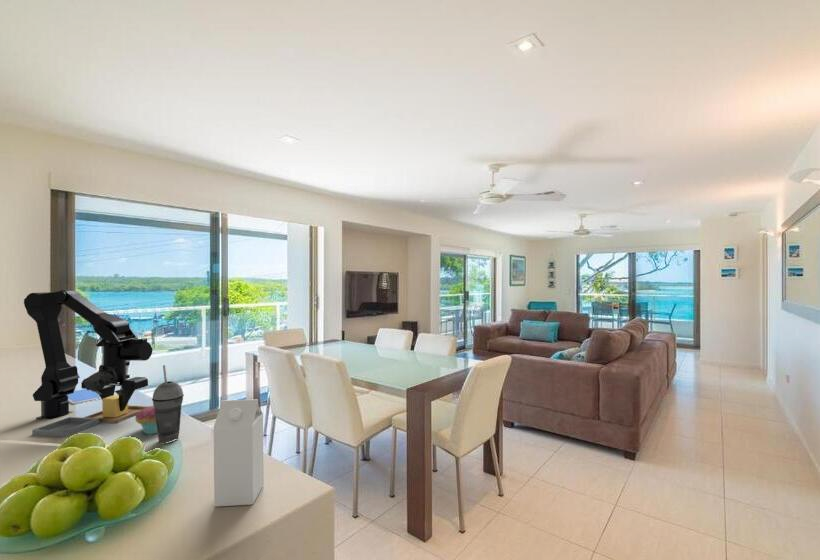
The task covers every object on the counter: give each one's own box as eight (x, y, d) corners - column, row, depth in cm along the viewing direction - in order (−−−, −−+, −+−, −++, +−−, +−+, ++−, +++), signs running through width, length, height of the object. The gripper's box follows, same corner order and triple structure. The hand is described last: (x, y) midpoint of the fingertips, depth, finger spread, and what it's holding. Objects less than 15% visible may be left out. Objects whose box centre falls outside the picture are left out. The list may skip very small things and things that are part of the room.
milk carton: (228, 487, 81) (227, 395, 81) (263, 485, 82) (262, 394, 81) (214, 507, 74) (213, 406, 74) (253, 505, 74) (252, 405, 74)
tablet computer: (58, 396, 148) (58, 393, 148) (100, 388, 158) (100, 385, 158) (72, 406, 136) (72, 402, 136) (116, 397, 146) (116, 393, 146)
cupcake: (178, 427, 114) (178, 386, 114) (150, 438, 106) (150, 394, 106) (156, 424, 117) (156, 383, 117) (128, 435, 109) (127, 391, 109)
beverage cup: (169, 447, 101) (168, 369, 101) (145, 444, 102) (144, 368, 102) (190, 435, 108) (189, 363, 108) (167, 433, 109) (167, 362, 109)
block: (102, 416, 121) (102, 398, 121) (115, 411, 125) (115, 394, 125) (115, 417, 120) (115, 399, 120) (128, 412, 125) (127, 395, 125)
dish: (32, 437, 108) (32, 429, 108) (70, 423, 118) (69, 416, 118) (63, 439, 106) (63, 431, 106) (99, 425, 116) (99, 418, 116)
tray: (82, 422, 119) (82, 417, 119) (118, 409, 131) (118, 404, 131) (117, 424, 117) (117, 420, 117) (151, 410, 129) (151, 406, 129)
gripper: (62, 365, 116) (63, 417, 116) (117, 367, 113) (118, 421, 113) (98, 357, 127) (99, 405, 127) (149, 359, 124) (149, 408, 124)
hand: (115, 410), depth 123 cm, fingers closed on block, 4 cm apart
